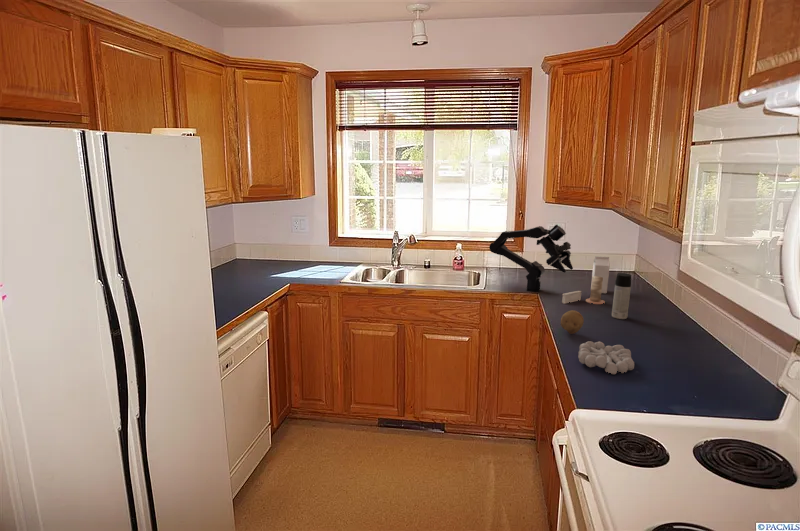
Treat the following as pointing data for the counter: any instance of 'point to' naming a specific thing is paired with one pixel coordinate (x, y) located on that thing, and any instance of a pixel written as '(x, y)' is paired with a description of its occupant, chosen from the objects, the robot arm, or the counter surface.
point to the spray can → (621, 296)
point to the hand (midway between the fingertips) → (568, 270)
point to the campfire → (606, 357)
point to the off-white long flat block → (571, 296)
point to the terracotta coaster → (595, 302)
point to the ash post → (596, 289)
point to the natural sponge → (572, 321)
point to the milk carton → (601, 270)
